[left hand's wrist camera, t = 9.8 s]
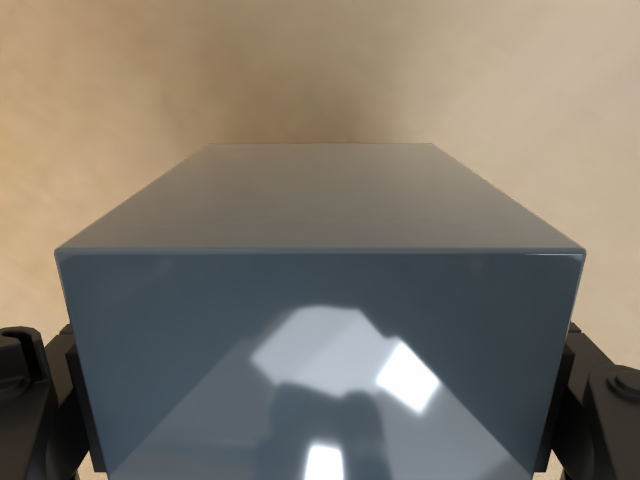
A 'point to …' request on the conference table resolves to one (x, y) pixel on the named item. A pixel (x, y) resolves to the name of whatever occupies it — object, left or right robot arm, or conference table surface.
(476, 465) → the grey rectangular block
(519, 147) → the conference table surface
